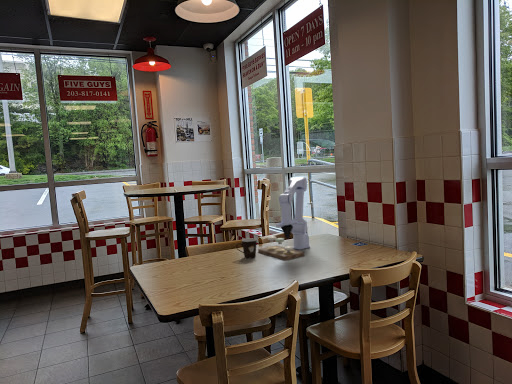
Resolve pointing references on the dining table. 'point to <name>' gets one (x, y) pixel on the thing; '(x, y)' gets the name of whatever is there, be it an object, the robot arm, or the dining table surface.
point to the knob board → (280, 252)
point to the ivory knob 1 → (272, 238)
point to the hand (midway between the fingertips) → (287, 238)
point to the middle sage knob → (280, 240)
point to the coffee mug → (248, 247)
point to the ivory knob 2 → (288, 248)
